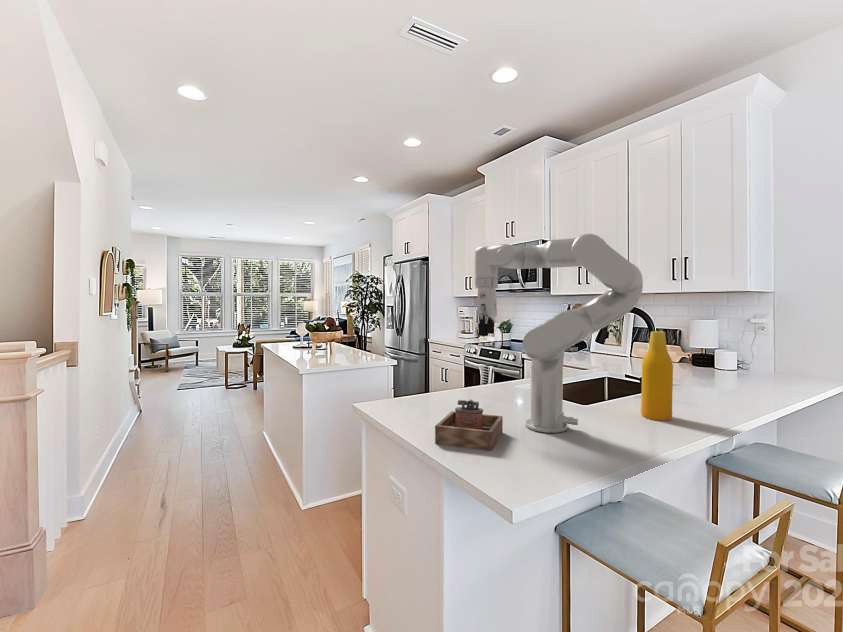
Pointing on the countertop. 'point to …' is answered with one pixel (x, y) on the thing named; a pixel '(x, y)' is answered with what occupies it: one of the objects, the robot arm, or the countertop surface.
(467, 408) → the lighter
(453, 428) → the walnut box
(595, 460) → the countertop surface
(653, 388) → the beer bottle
